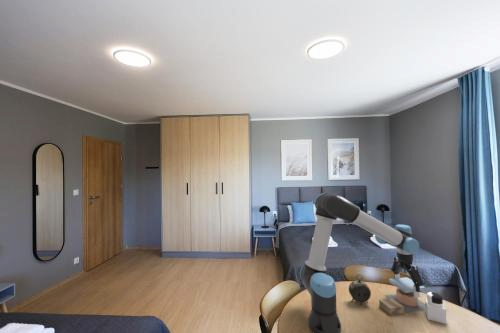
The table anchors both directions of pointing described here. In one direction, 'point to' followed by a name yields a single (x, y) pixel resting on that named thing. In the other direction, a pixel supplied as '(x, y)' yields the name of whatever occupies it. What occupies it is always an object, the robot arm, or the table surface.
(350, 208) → the robot arm
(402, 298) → the bowl
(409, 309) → the placemat
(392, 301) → the cork riser
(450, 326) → the table surface
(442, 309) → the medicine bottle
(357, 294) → the alarm clock
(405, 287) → the cover board
